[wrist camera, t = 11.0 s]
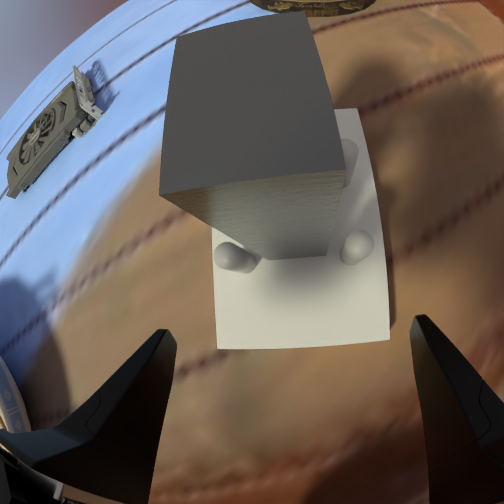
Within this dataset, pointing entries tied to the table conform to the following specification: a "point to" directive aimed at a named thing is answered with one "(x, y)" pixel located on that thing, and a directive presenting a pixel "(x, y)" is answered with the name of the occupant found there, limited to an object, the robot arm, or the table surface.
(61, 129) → the graphics card
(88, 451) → the robot arm
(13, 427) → the ramen bowl
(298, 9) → the brown flat round piece
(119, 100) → the table surface
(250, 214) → the block
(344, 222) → the pin tray
